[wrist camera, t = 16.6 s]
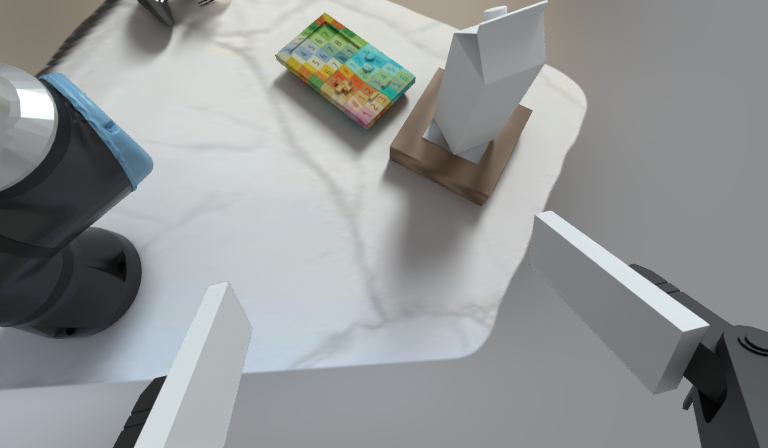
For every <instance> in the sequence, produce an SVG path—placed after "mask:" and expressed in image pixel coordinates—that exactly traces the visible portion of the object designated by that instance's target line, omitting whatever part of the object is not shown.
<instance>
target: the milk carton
mask: <svg viewBox="0 0 768 448" xmlns="http://www.w3.org/2000/svg"><path fill="white" fill-rule="evenodd" d="M547 3H548V1H547V0H545V1H543V2H540V3H537V4H534V5H531V6H528V7H525V8H523V9H520V10H517V11H514V12H511V13H508V14H507V7H506V6H499V7H494V8H491V9H488V10H486V11H484V22H482V23H480V24H479V25H476V26H473V27H470V28H467V29H464V30H461V31H459V32H456V33H454V35H453V39H452V43H451V47H450V51H449V54H448V58H447V62H446V66H445V70H444V74H443V78H442V82H441V86H440V90H439V94H438V98H437V102H436V106H435V110H434V114H433V117H434V119H435V121H436V123H437V125H438V126H439V128H440V130H441V132H442V134H443V136H444V138H445V140H446V141H447V143H448V145H449V147H450V149H451V151H452V153H453V154H454V155H456V154H458V153H461V152H463V151H466V150H468V149H471V148H474V147H476V146H479V145H481V144H484V143H486V142H489V141H491V140H494V139H496V138H497V137H498V135H499V133H500V132H501V130H502V129H503V127H504V126H505V124H506V123H507V121H508V120H509V118H510V116H511V115H512V113H513V112H514V110H515V109H516V107H517V106H518V104H519V103H520V101H521V100H522V98H523V96H524V95H525V93H526V92H527V90H528V89H529V87H530V86H531V84H532V83H533V81H534V79H535V78H536V76H537V75H538V73H539V72H540V70H541V69H542V67H543V66H544V64H545V63H546V51H545V36H544V21H543V10H544V9H545V7H546V5H547Z"/></svg>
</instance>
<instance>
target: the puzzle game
mask: <svg viewBox="0 0 768 448" xmlns="http://www.w3.org/2000/svg"><path fill="white" fill-rule="evenodd" d="M275 56H276V59H277V60H278V61H279V62H280V63H281V64H282V65H283V66H285V67H286V68H287V69H289V70H290V71H291V72H292V73H294V74H295V75H296V76H297V77H299V78H300V79H301V80H303V81H304V82H305V83H306V84H308V85H309V86H310V87H312V88H313V89H314V90H315V91H317V92H318V93H319V94H321V95H322V96H323V97H324V98H326V99H327V100H328V101H330V102H331V103H332V104H334V105H335V106H336V107H337V108H339V109H340V110H341V111H343V112H344V113H345V114H346V115H348V116H349V117H350V118H352V119H353V120H354V121H355V122H357V123H358V124H359V125H361V126H362V127H363V128H364V129H366V130H368V129H369V128H370V127H371V126H372V125H373V124H374V123H375V122H376V121H377V120H378V119H379V118H380V117H381V116H382V115H383V114H384V113H385V112H386V111H387V110H388V109H389V108H390V107H391V106H392V105H393V104H394V103H395V102H396V101H397V100H398V99H399V98H400V97H401V96H402V95H403V94H404V93H405V92H406V91H407V90H408V89H409V88H410V87H411V86H412V85H413V84H414V83H415V78H416V77H415V76H414V75H413V74H412V73H410V72H409V71H408V70H406V69H405V68H403V67H402V66H400V65H399V64H398V63H396V62H395V61H393V60H392V59H390V58H389V57H388V56H386V55H385V54H383V53H382V52H380V51H379V50H378V49H376V48H375V47H373V46H372V45H370V44H369V43H368V42H366V41H365V40H363V39H362V38H360V37H359V36H358V35H356V34H355V33H353V32H352V31H350V30H349V29H348V28H346V27H345V26H343V25H342V24H340V23H339V22H338V21H336V20H335V19H333V18H332V17H330V16H329V15H328V14H326V13H324V14H323V15H321V16H320V17H319V18H318V19H317V20H315V21H314V22H313V23H312V24H311V25H310V26H308V27H307V28H306V29H305V30H304V31H303V32H301V33H300V34H299V35H298V36H297V37H296V38H294V39H293V40H292V41H291V42H290V43H289V44H287V45H286V46H285V47H284V48H283V49H282V50H280V51H279V52H278V53H277V54H276V55H275Z"/></svg>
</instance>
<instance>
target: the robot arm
mask: <svg viewBox="0 0 768 448" xmlns="http://www.w3.org/2000/svg"><path fill="white" fill-rule="evenodd" d="M152 169H153V161H152V158H151V157H150V156H149V154H148V153H147V152H146V151H145V150H144V149H142V148H141V147H140V146H139V145H138V144H137V143H136V142H135V141H134V140H133V139H132V138H131V137H130V136H129V135H128V134H126V133H125V132H124V131H123V130H122V129H121V128H120V127H119V126H118V125H117V124H116V123H115V122H114V121H113V120H112V119H111V118H110V117H108V116H107V115H106V114H105V113H104V112H103V111H102V110H101V109H100V108H99V107H98V106H97V105H96V104H95V103H94V102H93V101H92V100H90V99H89V98H88V97H87V96H86V95H85V94H84V93H83V92H82V91H81V90H80V89H79V88H78V87H77V86H76V85H74V84H73V83H72V82H71V81H70V80H69V79H68V78H67V77H66V76H65V75H63V74H61V73H51V74H48V75H42V76H41V77H40V78H39V80H38V79H36V78H35V77H34V76H32V75H30V74H28V73H27V72H24V71H23V70H21V69H19V68H16V67H13V66H10V65H6V64H1V63H0V327H13V328H16V329H20V330H23V331H27V332H30V333H33V334H37V335H40V336H43V337H47V338H55V339H67V338H79V337H85V336H89V335H92V334H95V333H98V332H100V331H102V330H104V329H106V328H107V327H109V326H110V325H112V324H113V323H114V322H116V321H117V320H118V319H119V318H120V317H121V316H122V315H123V314H124V313H125V312H126V310H127V309H128V308H129V306H130V305H131V303H132V302H133V300H134V298H135V296H136V294H137V292H138V289H139V286H140V281H141V273H142V269H141V261H140V257H139V255H138V252H137V250H136V249H135V247H134V246H133V244H132V243H131V242H130V241H129V240H128V239H126V238H125V237H123V236H122V235H120V234H118V233H115V232H112V231H109V230H105V229H102V228H97V227H90V226H91V225H92V224H93V223H94V222H96V221H97V220H98V219H99V218H100V217H102V216H103V215H104V214H105V213H107V212H108V211H109V210H110V209H111V208H113V207H114V206H115V205H116V204H117V203H119V202H120V201H121V200H122V199H123V198H125V197H126V196H127V195H128V194H130V193H131V192H133V191H135V190H136V188H137V185H138V184H139V183H140V182H141V181H142V180H143V179H144V178H145V177H146V176H148V175H149V174H150V173H151V171H152ZM529 264H530V266H532V268H533V269H534V270H535V271H536V272H537V273H538V274H539V275H540V276H541V277H542V278H543V279H544V280H545V281H546V283H547V284H549V286H550V287H551V288H552V289H553V290H554V291H555V292H556V293H557V294H558V295H559V296H560V297H561V298H562V299H563V300H564V302H565V303H566V304H567V305H568V306H569V307H570V308H571V309H572V310H573V311H574V312H575V313H576V314H577V315H578V316H579V317H580V318H581V319H582V320H583V321H584V322H585V324H586V325H587V326H588V327H589V328H590V329H591V330H592V331H593V332H594V333H595V334H596V335H597V336H598V337H599V338H600V339H601V340H602V341H603V342H604V344H605V345H606V346H607V347H608V348H609V349H610V350H611V351H612V352H613V353H614V354H615V355H616V356H617V357H618V358H619V359H620V360H621V361H622V362H623V364H624V365H625V366H626V367H627V368H628V369H629V370H630V371H631V372H632V373H633V374H634V375H635V376H636V377H637V378H638V379H639V380H640V382H642V384H643V385H644V386H645V387H646V388H647V389H648V390H649V391H650V392H651V393H652V394H653V395H655V394H659V393H662V392H666V391H670V390H673V389H676V388H677V387H678V385H679V383H680V381H681V379H682V377H683V376H684V377H685V378H686V379H688V380H689V381H690V382H691V383H692V384H693V386H692V388H691V390H690V392H689V393H688V395H687V397H686V399H685V400H684V402H683V409H685V410H688V409H689V407H690V405H691V403H692V402H693V406H694V411H695V416H696V421H697V426H698V432H699V436H700V442H701V447H702V448H768V332H766V331H763V330H760V329H757V328H754V327H749V326H741V325H736V326H733V325H731V324H729V323H728V322H726V321H725V320H723V319H722V318H720V317H719V316H718V315H716V314H715V313H713V312H712V311H710V310H709V309H707V308H706V307H704V306H703V305H701V304H700V303H698V302H697V301H695V300H694V299H693V298H691V297H690V296H688V295H687V294H685V293H684V292H680V290H679V289H678V288H676V287H675V286H673V285H672V284H671V283H669V284H668V283H667V281H666V280H665V279H663V278H662V277H660V276H659V275H657V274H656V273H654V272H653V271H651V270H648V269H646V268H644V267H641V266H639V265H636V264H631V265H626V264H625V263H623V262H622V261H620V260H619V259H618V258H616V257H615V256H614V255H612V254H611V253H609V252H608V251H607V250H605V249H604V248H602V247H601V246H599V245H598V244H597V243H595V242H594V241H593V240H591V239H590V238H588V237H587V236H586V235H584V234H583V233H581V232H580V231H578V230H577V229H576V228H575V227H573V226H572V225H570V224H569V223H568V222H566V221H564V220H563V219H562V218H560V217H559V216H558V215H556V214H555V213H554V212H552V211H547V212H543V213H538V214H535V215H534V225H533V234H532V244H531V253H530V263H529ZM252 329H253V328H252V326H251V324H250V322H249V320H248V318H247V316H246V314H245V312H244V310H243V308H242V306H241V304H240V302H239V300H238V298H237V296H236V294H235V292H234V290H233V288H232V286H231V284H230V282H229V281H228V282H223V283H219V284H214V285H210V286H209V288H208V290H207V292H206V294H205V297H204V299H203V301H202V303H201V305H200V307H199V309H198V311H197V314H196V316H195V318H194V320H193V322H192V324H191V326H190V329H189V331H188V333H187V335H186V337H185V339H184V341H183V344H182V346H181V348H180V350H179V352H178V354H177V356H176V359H175V361H174V363H173V365H172V367H171V369H170V371H169V374H168V375H167V376H163V377H159V378H155V379H154V380H153V381H152V382H151V383H150V385H149V386H148V387H147V388H146V389H145V391H143V393H142V394H141V395H140V397H139V399H138V401H137V402H136V404H135V406H134V408H133V410H132V412H131V413H132V415H131V416H129V418H128V420H127V422H126V424H125V426H124V430H123V431H122V432H121V433H120V435H119V437H118V439H117V441H116V443H115V445H114V447H113V448H224V444H225V440H226V435H227V432H228V427H229V424H230V420H231V415H232V411H233V407H234V403H235V399H236V395H237V391H238V387H239V383H240V379H241V375H242V370H243V366H244V362H245V358H246V354H247V350H248V346H249V342H250V338H251V334H252Z"/></svg>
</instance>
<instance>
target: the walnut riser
mask: <svg viewBox="0 0 768 448" xmlns="http://www.w3.org/2000/svg"><path fill="white" fill-rule="evenodd" d="M443 74H444V70H443V69H441V68H438V70H437V72H436V73H435V75H434V76H433V78H432V80H431V81H430V83H429V84H428V86H427V88H426V89H425V91H424V92H423V94H422V96H421V97H420V99H419V101H418V102H417V104H416V105H415V107H414V109H413V110H412V112H411V113H410V115H409V117H408V118H407V120H406V121H405V123H404V125H403V126H402V128H401V129H400V131H399V133H398V134H397V136H396V137H395V139H394V141H393V142H392V144H391V146H390V159H391V160H393V161H395V162H397V163H399V164H401V165H403V166H405V167H407V168H409V169H411V170H413V171H415V172H417V173H418V174H420V175H422V176H424V177H426V178H428V179H430V180H432V181H434V182H436V183H438V184H440V185H442V186H444V187H446V188H448V189H450V190H452V191H454V192H456V193H458V194H459V195H461V196H463V197H465V198H467V199H469V200H471V201H473V202H475V203H477V204H479V205H482V204H483V203H484V202H485V201H486V200H487V198H488V197H489V196H490V194H491V192H492V190H493V188H494V186H495V184H496V182H497V180H498V178H499V176H500V174H501V172H502V170H503V168H504V166H505V164H506V162H507V160H508V158H509V156H510V155H511V153H512V151H513V149H514V147H515V145H516V143H517V141H518V139H519V137H520V135H521V133H522V131H523V129H524V127H525V125H526V123H527V121H528V119H529V117H530V115H531V113H532V111H533V110H530V109H528V108H526V107H524V106H522V105H520V104H518V106H517V107H516V109H515V110H514V112H513V113H512V115H511V116H510V118H509V120H508V121H507V123H506V124H505V126H504V127H503V129H502V130H501V132H500V133H499V135H498V137H497V138H496V139H494V140H491V141H489V142H486V143H484V144H481V145H479V146H476V147H474V148H471V149H468V150H466V151H463V152H461V153H458V154H456V155H454V154H453V153H452V151H451V149H450V147H449V145H448V143H447V141H446V140H445V138H444V136H443V134H442V132H441V130H440V128H439V126H438V125H437V123H436V121H435V119H434V117H433V114H434V110H435V106H436V102H437V98H438V94H439V90H440V86H441V82H442V78H443Z"/></svg>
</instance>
